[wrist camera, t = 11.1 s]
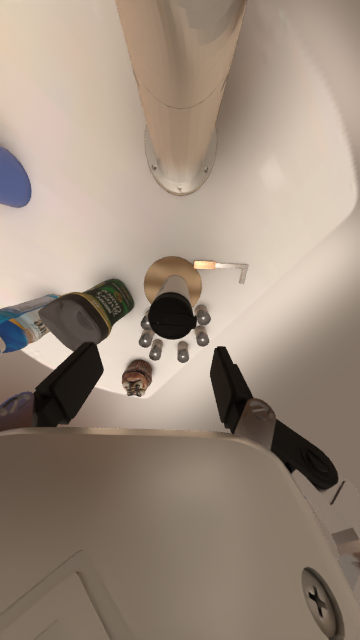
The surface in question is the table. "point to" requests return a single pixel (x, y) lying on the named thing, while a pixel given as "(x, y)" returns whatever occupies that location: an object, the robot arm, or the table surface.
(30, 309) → the beverage bottle
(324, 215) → the table surface
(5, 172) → the water bottle
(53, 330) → the coffee jar
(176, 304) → the travel mug
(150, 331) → the spacer field
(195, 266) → the hook tool
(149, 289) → the round wooden board
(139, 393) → the cupcake
